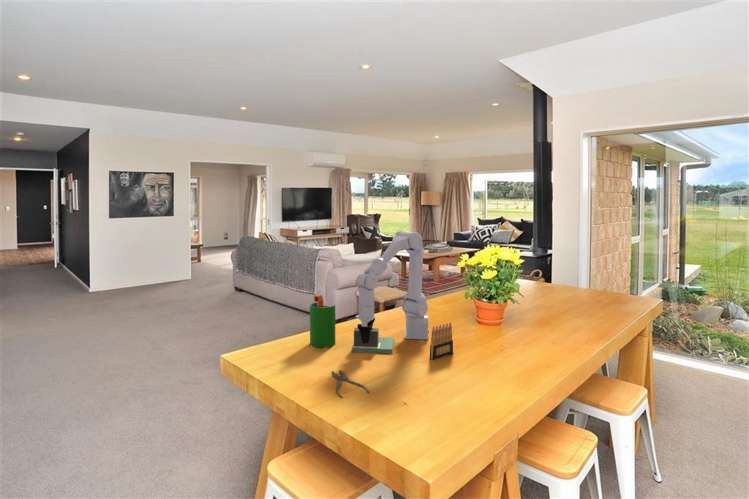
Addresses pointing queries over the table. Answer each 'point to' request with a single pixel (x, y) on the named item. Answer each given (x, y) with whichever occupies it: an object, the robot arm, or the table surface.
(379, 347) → the header board
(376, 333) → the block
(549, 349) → the table surface
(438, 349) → the ammunition clip
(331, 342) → the green and brown cylinder
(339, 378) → the pliers
